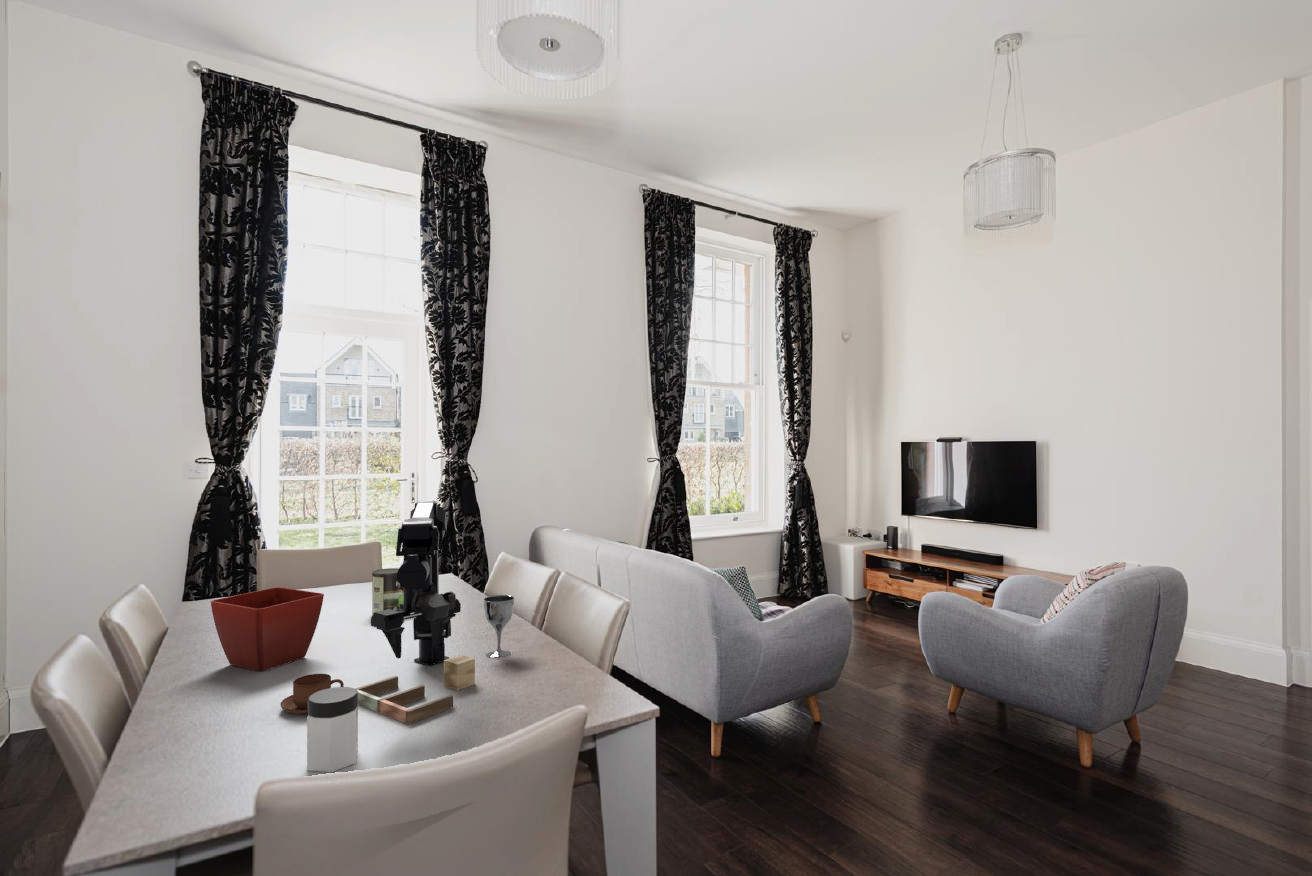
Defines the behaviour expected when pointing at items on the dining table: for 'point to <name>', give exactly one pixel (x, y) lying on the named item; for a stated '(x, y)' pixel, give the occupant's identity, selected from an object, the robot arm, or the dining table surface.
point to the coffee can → (386, 590)
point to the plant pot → (267, 626)
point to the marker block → (459, 672)
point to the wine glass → (498, 619)
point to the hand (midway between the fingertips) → (417, 652)
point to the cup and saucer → (306, 691)
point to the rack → (400, 701)
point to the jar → (332, 729)
